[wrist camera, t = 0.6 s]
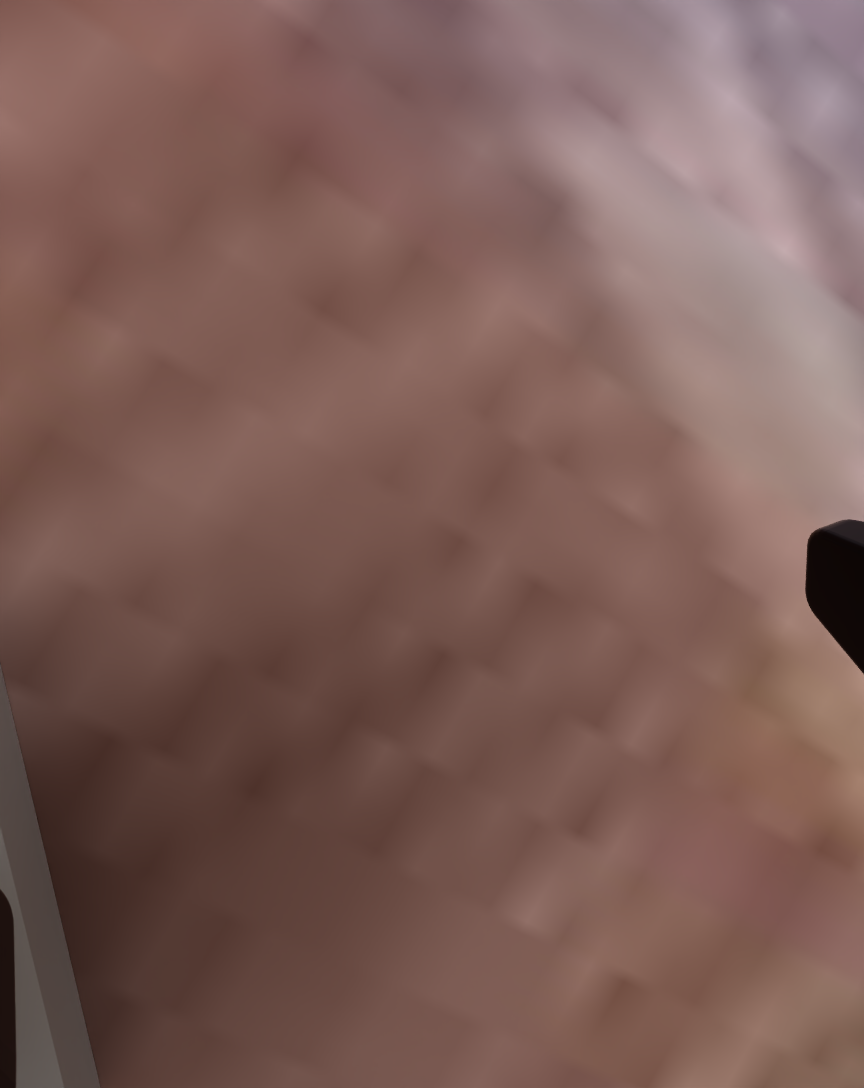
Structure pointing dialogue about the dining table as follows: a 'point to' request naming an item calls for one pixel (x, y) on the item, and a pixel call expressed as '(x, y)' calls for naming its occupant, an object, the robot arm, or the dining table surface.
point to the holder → (37, 938)
